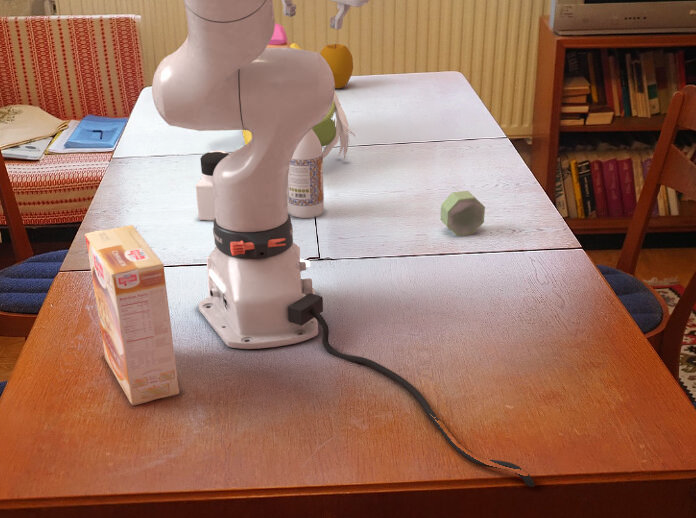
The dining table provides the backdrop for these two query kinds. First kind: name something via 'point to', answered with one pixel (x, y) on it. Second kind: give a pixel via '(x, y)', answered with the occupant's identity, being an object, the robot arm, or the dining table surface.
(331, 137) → the colorful pinata
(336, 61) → the apple
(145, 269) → the coffeecake box
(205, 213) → the medicine bottle
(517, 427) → the dining table surface
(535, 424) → the dining table surface
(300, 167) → the bath foam
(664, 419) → the dining table surface
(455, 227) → the tin
